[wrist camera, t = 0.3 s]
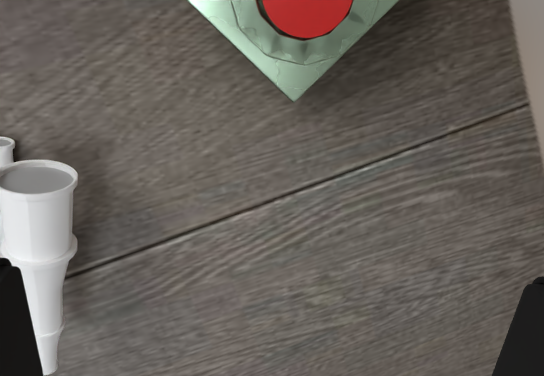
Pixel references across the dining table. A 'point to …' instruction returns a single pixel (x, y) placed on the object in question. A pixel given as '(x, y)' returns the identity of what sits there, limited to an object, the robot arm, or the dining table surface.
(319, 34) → the button
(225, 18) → the switch block
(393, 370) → the dining table surface
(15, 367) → the robot arm
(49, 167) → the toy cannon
